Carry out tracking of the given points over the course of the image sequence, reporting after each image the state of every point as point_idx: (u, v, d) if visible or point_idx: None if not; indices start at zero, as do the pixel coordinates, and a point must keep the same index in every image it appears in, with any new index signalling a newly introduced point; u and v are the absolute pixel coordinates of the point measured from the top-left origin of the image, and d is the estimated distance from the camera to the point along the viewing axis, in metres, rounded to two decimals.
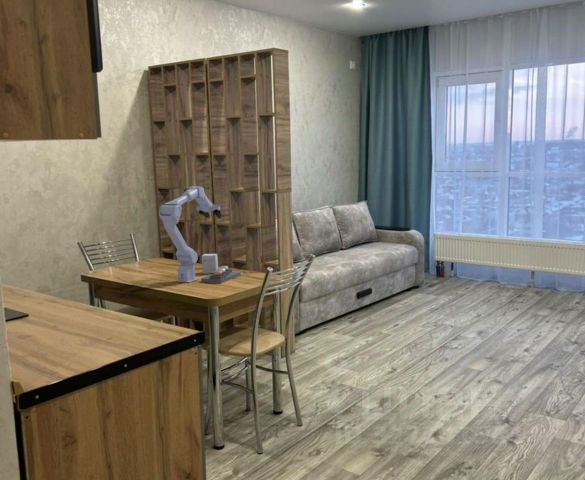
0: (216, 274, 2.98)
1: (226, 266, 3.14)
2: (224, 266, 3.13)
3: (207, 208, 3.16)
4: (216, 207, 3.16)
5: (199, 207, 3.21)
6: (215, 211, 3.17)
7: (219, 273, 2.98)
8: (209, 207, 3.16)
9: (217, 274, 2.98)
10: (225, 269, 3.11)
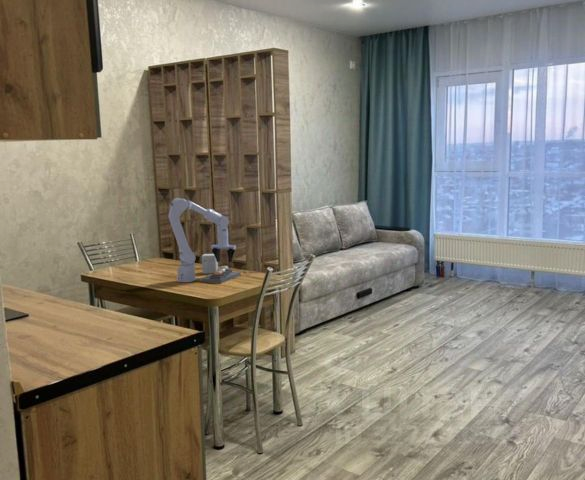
0: (216, 274, 2.98)
1: (226, 266, 3.14)
2: (224, 266, 3.13)
3: (223, 243, 3.09)
4: (232, 246, 3.09)
5: (214, 245, 3.14)
6: (229, 249, 3.09)
7: (219, 273, 2.98)
8: (225, 243, 3.09)
9: (217, 274, 2.98)
10: (225, 269, 3.11)
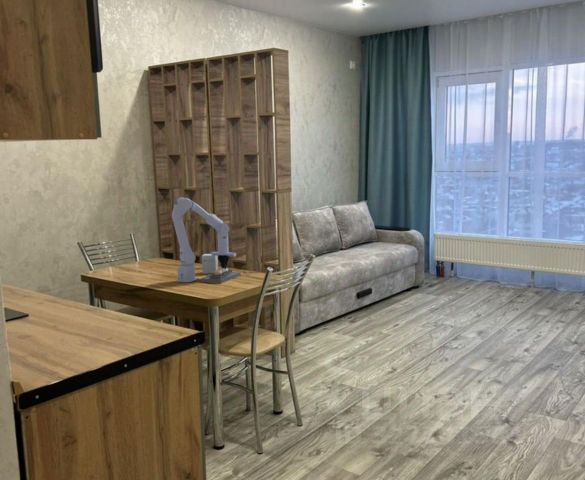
0: (216, 274, 2.98)
1: (226, 268, 3.14)
2: None
3: (223, 250, 3.09)
4: (232, 253, 3.09)
5: (215, 252, 3.14)
6: None
7: (219, 273, 2.98)
8: (226, 250, 3.10)
9: (217, 274, 2.98)
10: None
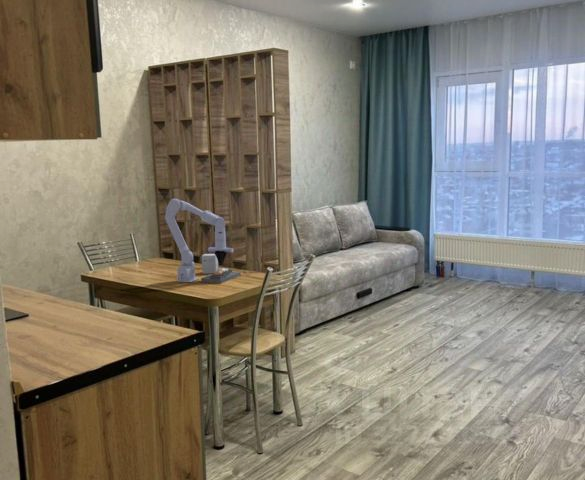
0: (216, 274, 2.98)
1: None
2: (224, 268, 3.13)
3: (221, 245, 3.03)
4: (230, 248, 3.03)
5: (211, 247, 3.08)
6: None
7: (219, 273, 2.98)
8: (223, 246, 3.03)
9: (217, 274, 2.98)
10: None
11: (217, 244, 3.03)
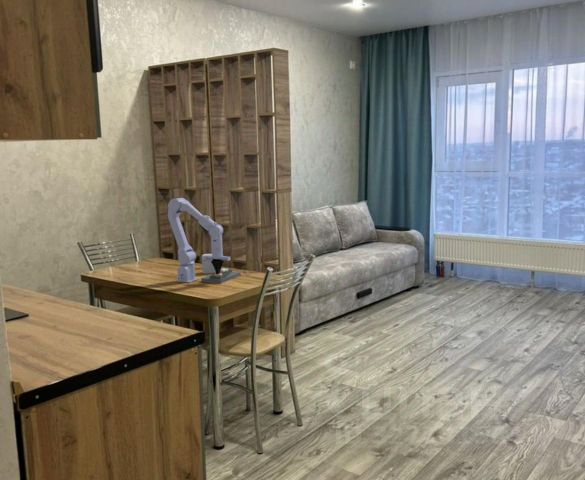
0: None
1: None
2: (224, 268, 3.13)
3: (217, 254, 2.96)
4: (227, 257, 2.96)
5: (208, 256, 3.01)
6: None
7: (219, 275, 2.98)
8: (220, 254, 2.96)
9: None
10: None
11: (214, 252, 2.96)
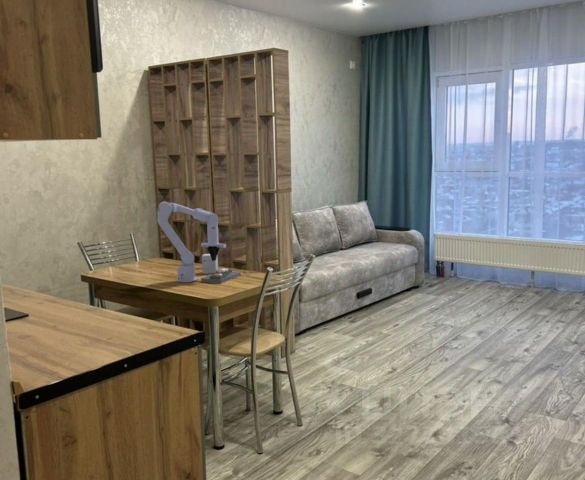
0: None
1: None
2: (224, 268, 3.13)
3: (213, 241, 3.04)
4: (222, 244, 3.04)
5: (204, 243, 3.09)
6: (219, 248, 3.03)
7: None
8: (215, 241, 3.04)
9: None
10: None
11: (209, 239, 3.04)
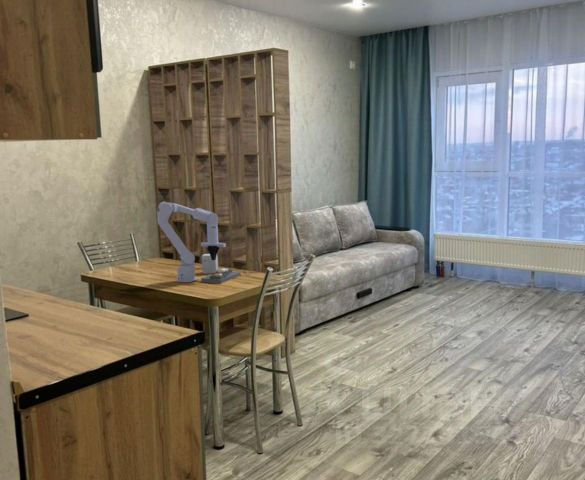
0: None
1: None
2: (224, 268, 3.13)
3: (213, 240, 3.04)
4: (222, 243, 3.05)
5: (204, 242, 3.09)
6: None
7: None
8: (215, 241, 3.05)
9: None
10: None
11: (209, 239, 3.05)
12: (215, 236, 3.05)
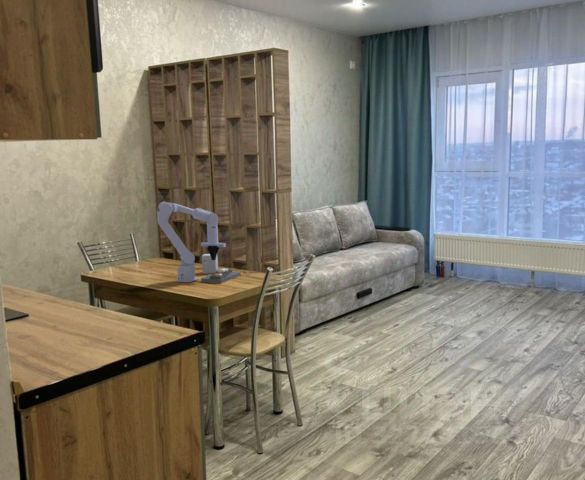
0: None
1: None
2: (224, 268, 3.13)
3: (213, 240, 3.04)
4: (222, 243, 3.05)
5: (204, 242, 3.09)
6: None
7: None
8: (215, 241, 3.05)
9: None
10: None
11: (209, 239, 3.05)
12: (215, 236, 3.05)
